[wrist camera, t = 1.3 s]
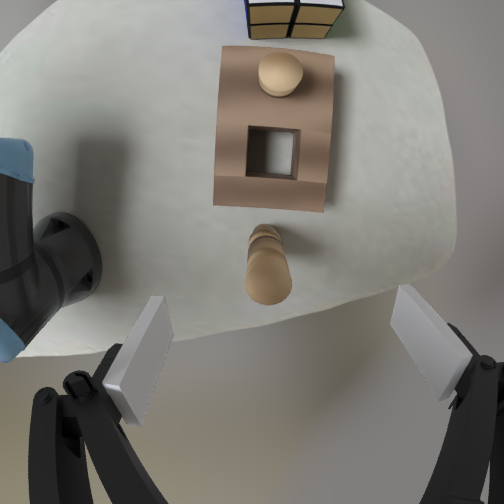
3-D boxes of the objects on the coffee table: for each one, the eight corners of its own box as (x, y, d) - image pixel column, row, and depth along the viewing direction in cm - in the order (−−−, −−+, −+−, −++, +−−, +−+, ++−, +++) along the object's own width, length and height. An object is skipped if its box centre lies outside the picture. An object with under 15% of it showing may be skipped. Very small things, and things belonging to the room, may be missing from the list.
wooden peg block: (312, 202, 35) (332, 222, 26) (220, 195, 35) (207, 213, 26) (322, 69, 28) (345, 44, 19) (227, 61, 28) (217, 32, 19)
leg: (256, 253, 38) (256, 310, 25) (244, 227, 36) (238, 274, 23) (283, 243, 37) (298, 296, 24) (273, 216, 36) (282, 257, 23)
